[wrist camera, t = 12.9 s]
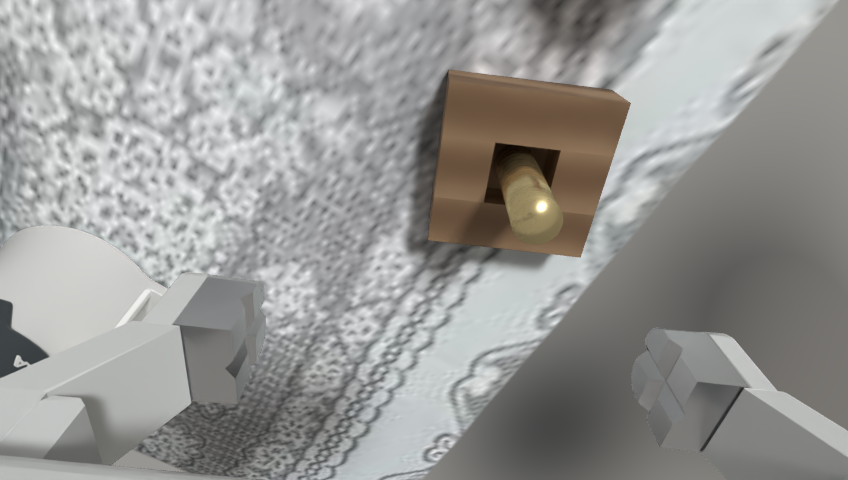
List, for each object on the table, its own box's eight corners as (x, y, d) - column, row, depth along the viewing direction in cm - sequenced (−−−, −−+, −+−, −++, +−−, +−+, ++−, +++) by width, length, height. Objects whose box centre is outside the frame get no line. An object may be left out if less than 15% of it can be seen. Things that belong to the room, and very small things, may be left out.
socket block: (568, 232, 41) (580, 257, 37) (429, 216, 40) (428, 240, 37) (611, 89, 35) (630, 103, 31) (448, 69, 34) (449, 80, 31)
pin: (527, 183, 37) (553, 248, 29) (490, 176, 37) (505, 240, 28) (538, 147, 36) (570, 204, 27) (500, 140, 36) (519, 195, 27)
